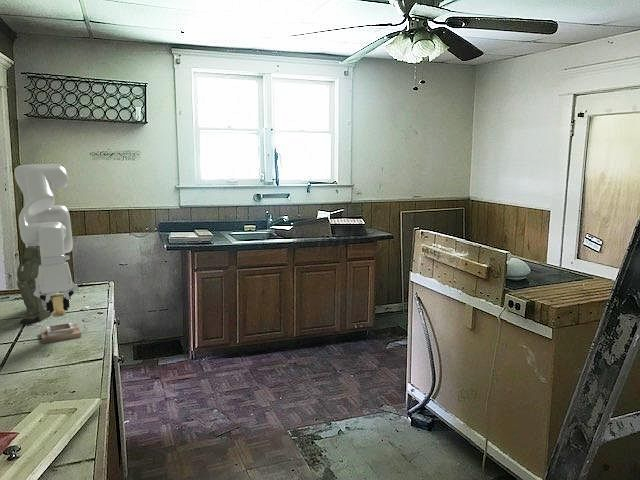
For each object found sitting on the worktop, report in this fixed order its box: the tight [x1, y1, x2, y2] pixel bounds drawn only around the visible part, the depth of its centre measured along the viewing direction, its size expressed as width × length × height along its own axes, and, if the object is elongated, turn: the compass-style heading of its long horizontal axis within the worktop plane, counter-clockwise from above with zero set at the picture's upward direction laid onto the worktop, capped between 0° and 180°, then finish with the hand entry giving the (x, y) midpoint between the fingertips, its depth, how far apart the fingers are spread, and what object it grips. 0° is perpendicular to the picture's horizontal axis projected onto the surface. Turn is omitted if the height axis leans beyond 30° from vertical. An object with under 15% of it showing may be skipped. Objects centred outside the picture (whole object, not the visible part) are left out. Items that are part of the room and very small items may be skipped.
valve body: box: [50, 293, 67, 318], centre depth 180 cm, size 4×4×7 cm
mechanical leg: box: [16, 246, 51, 325], centre depth 199 cm, size 14×7×30 cm, turn 168°
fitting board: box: [39, 322, 82, 344], centre depth 182 cm, size 11×12×3 cm
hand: (58, 310), depth 181 cm, fingers closed on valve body, 4 cm apart
